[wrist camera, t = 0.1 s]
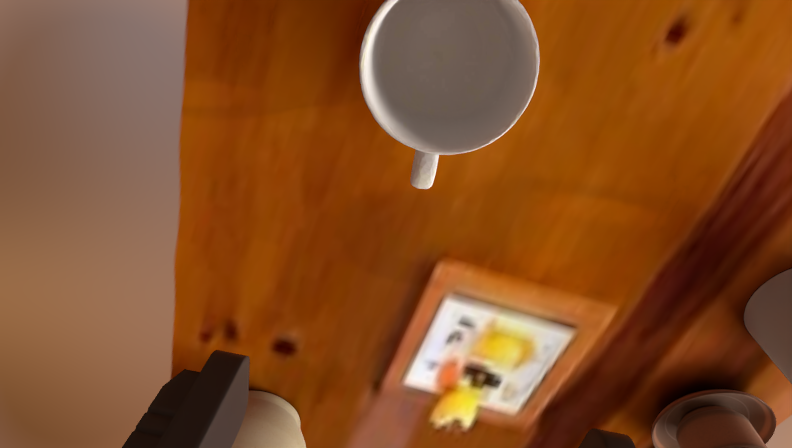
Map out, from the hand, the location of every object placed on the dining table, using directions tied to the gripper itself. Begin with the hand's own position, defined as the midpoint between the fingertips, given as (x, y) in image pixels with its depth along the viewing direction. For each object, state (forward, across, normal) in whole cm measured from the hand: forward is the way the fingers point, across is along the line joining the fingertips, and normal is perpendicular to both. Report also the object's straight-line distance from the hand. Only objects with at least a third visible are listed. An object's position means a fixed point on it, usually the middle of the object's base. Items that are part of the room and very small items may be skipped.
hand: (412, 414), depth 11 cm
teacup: (+30, 0, -2) cm, 30 cm away
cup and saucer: (+30, -37, +28) cm, 55 cm away
